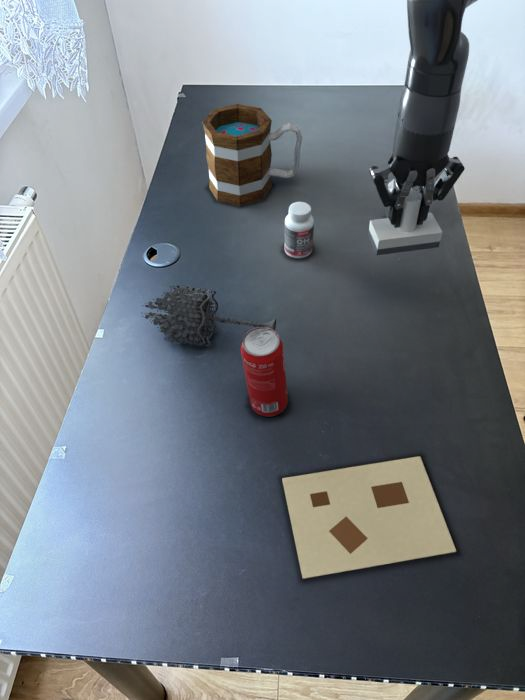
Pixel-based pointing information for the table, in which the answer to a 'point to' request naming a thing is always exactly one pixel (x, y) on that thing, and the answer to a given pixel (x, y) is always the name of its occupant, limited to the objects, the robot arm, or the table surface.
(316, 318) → the table surface
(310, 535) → the stain mat
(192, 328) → the dark grey model tree
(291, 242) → the pill bottle
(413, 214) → the scrub brush
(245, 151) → the mug
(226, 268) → the table surface
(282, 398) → the beverage can
